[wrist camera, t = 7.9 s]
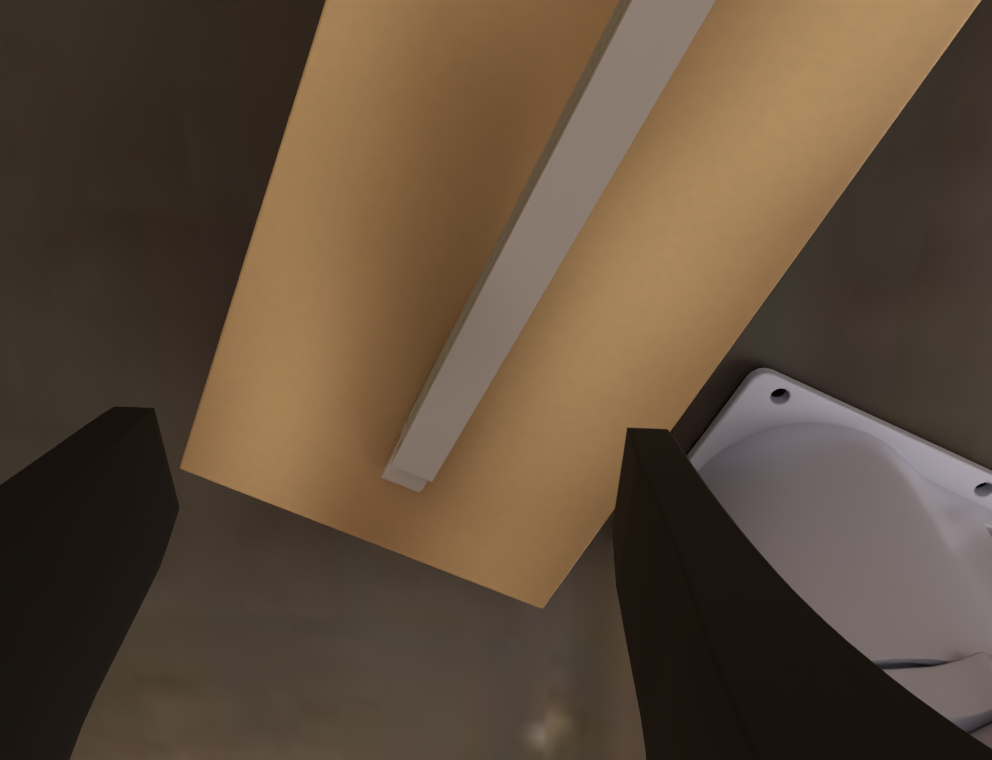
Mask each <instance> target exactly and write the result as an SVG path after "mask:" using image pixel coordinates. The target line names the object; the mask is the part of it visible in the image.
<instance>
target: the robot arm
mask: <svg viewBox="0 0 992 760" xmlns="http://www.w3.org/2000/svg"><path fill="white" fill-rule="evenodd" d="M780 388H781V389H786V391H785V393H784V394H783V395H781V396H778V397H774V396H771V393H772V392H773V391H774V390H776V389H780ZM985 482H987V483H986V485H984V486H982V487H980V488H976V486H978V485H979V484H981V483H985ZM178 511H179V504H178V500H177V496H176V492H175V488H174V484H173V480H172V476H171V473H170V469H169V465H168V461H167V457H166V453H165V449H164V445H163V441H162V437H161V433H160V429H159V425H158V422H157V418H156V414H155V410H154V408H138V407H113V408H111V409H110V410H108V411H107V412H105V413H103V414H102V415H100V416H99V417H97V418H96V419H94V420H93V421H91V422H90V423H88V424H87V425H85V426H84V427H83V428H81V429H80V430H78V431H77V432H75V433H74V434H73V435H71V436H70V437H68V438H67V439H66V440H64V441H63V442H61V443H60V444H59V445H57V446H56V447H54V448H53V449H51V450H50V451H49V452H47V453H46V454H44V455H43V456H42V457H40V458H39V459H37V460H36V461H34V462H33V463H32V464H30V465H29V466H27V467H26V468H24V469H23V470H21V471H20V472H19V473H17V474H16V475H14V476H13V477H11V478H10V479H9V480H7V481H6V482H4V483H3V484H1V485H0V760H69V759H70V757H71V754H72V751H73V749H74V746H75V743H76V741H77V738H78V735H79V733H80V730H81V728H82V725H83V723H84V720H85V718H86V716H87V714H88V711H89V709H90V707H91V705H92V703H93V700H94V698H95V696H96V694H97V692H98V690H99V688H100V686H101V684H102V682H103V680H104V678H105V676H106V674H107V672H108V670H109V668H110V666H111V664H112V662H113V660H114V658H115V656H116V654H117V652H118V650H119V648H120V646H121V644H122V642H123V640H124V638H125V636H126V634H127V632H128V630H129V628H130V626H131V624H132V622H133V620H134V618H135V616H136V614H137V612H138V610H139V608H140V606H141V604H142V602H143V600H144V598H145V596H146V594H147V592H148V590H149V588H150V586H151V584H152V582H153V580H154V578H155V576H156V574H157V572H158V569H159V567H160V565H161V562H162V559H163V556H164V554H165V551H166V548H167V545H168V542H169V539H170V536H171V533H172V530H173V527H174V524H175V521H176V517H177V514H178ZM612 528H613V545H614V562H615V576H616V587H617V593H618V598H619V604H620V609H621V615H622V620H623V626H624V631H625V636H626V642H627V647H628V652H629V657H630V663H631V668H632V673H633V679H634V684H635V689H636V694H637V700H638V705H639V710H640V716H641V722H642V729H643V735H644V742H645V750H646V760H992V470H989V469H987V468H985V467H983V466H981V465H979V464H976V463H974V462H972V461H970V460H968V459H966V458H963V457H961V456H959V455H957V454H955V453H953V452H950V451H948V450H946V449H944V448H942V447H940V446H937V445H935V444H933V443H931V442H929V441H927V440H924V439H922V438H920V437H918V436H916V435H914V434H911V433H909V432H907V431H905V430H903V429H901V428H898V427H896V426H894V425H892V424H890V423H888V422H885V421H883V420H881V419H879V418H877V417H875V416H872V415H870V414H868V413H866V412H864V411H862V410H859V409H857V408H855V407H853V406H851V405H849V404H846V403H844V402H842V401H840V400H838V399H836V398H833V397H831V396H829V395H827V394H825V393H823V392H820V391H818V390H816V389H814V388H812V387H810V386H807V385H805V384H803V383H801V382H799V381H797V380H794V379H792V378H790V377H788V376H786V375H784V374H781V373H779V372H777V371H775V370H773V369H769V368H758V369H756V370H754V371H752V372H751V373H749V374H748V375H747V376H746V378H745V379H744V380H743V382H742V383H741V384H740V386H739V387H738V388H737V390H736V391H735V392H734V394H733V395H732V396H731V398H730V399H729V400H728V402H727V403H726V404H725V406H724V407H723V408H722V410H721V411H720V412H719V414H718V415H717V416H716V418H715V419H714V420H713V422H712V423H711V424H710V426H709V427H708V428H707V430H706V431H705V432H704V434H703V435H702V436H701V438H700V439H699V440H698V442H697V443H696V444H695V446H694V447H693V448H692V450H691V451H690V452H689V454H688V455H687V456H686V454H685V453H684V451H683V450H682V448H681V447H680V445H679V444H678V442H677V440H676V439H675V437H674V436H673V435H672V434H671V432H670V431H669V430H668V429H652V428H627V432H626V439H625V445H624V452H623V459H622V465H621V472H620V478H619V485H618V492H617V498H616V505H615V512H614V518H613V525H612Z"/></svg>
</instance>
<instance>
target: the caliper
mask: <svg viewBox="0 0 992 760" xmlns="http://www.w3.org/2000/svg"><path fill="white" fill-rule="evenodd" d="M715 1H716V0H619V2H618V4H617V6H616V8H615V10H614V12H613V14H612V16H611V18H610V20H609V22H608V24H607V26H606V28H605V30H604V32H603V34H602V36H601V38H600V39H599V41H598V43H597V45H596V47H595V49H594V51H593V53H592V55H591V57H590V59H589V61H588V63H587V65H586V67H585V69H584V71H583V73H582V75H581V77H580V79H579V81H578V83H577V85H576V87H575V89H574V91H573V93H572V95H571V97H570V99H569V101H568V103H567V104H566V106H565V108H564V110H563V112H562V114H561V116H560V118H559V120H558V122H557V124H556V126H555V128H554V130H553V132H552V134H551V136H550V138H549V140H548V142H547V144H546V146H545V148H544V150H543V152H542V154H541V156H540V158H539V160H538V162H537V164H536V166H535V168H534V169H533V171H532V173H531V175H530V177H529V179H528V181H527V183H526V185H525V187H524V189H523V191H522V193H521V195H520V197H519V199H518V201H517V203H516V205H515V207H514V209H513V211H512V213H511V215H510V217H509V219H508V221H507V223H506V225H505V226H504V228H503V230H502V232H501V234H500V236H499V238H498V240H497V242H496V244H495V246H494V248H493V250H492V252H491V254H490V256H489V258H488V260H487V262H486V264H485V266H484V268H483V270H482V272H481V274H480V276H479V278H478V280H477V281H476V283H475V285H474V287H473V289H472V291H471V293H470V295H469V297H468V299H467V301H466V303H465V305H464V307H463V309H462V311H461V313H460V315H459V317H458V319H457V321H456V323H455V325H454V327H453V329H452V331H451V333H450V334H449V336H448V338H447V340H446V342H445V344H444V346H443V348H442V350H441V352H440V354H439V356H438V358H437V360H436V362H435V364H434V366H433V368H432V370H431V372H430V374H429V376H428V378H427V380H426V382H425V384H424V386H423V388H422V389H421V391H420V393H419V395H418V397H417V399H416V401H415V403H414V405H413V407H412V409H411V411H410V413H409V415H408V417H407V419H406V421H405V424H404V427H403V430H402V433H401V436H400V438H399V440H398V442H397V444H396V446H395V448H394V450H393V452H392V454H391V456H390V458H389V460H388V462H387V464H386V466H385V468H384V470H383V472H382V475H381V478H383V479H386V480H388V481H391V482H393V483H396V484H398V485H401V486H404V487H406V488H409V489H411V490H414V491H416V492H420V491H422V490H423V488H424V486H425V485H426V483H427V481H428V480H429V481H431V482H432V481H433V479H434V478H435V476H436V474H437V473H438V471H439V469H440V468H441V466H442V464H443V463H444V461H445V459H446V457H447V456H448V454H449V452H450V451H451V449H452V447H453V446H454V444H455V442H456V441H457V439H458V437H459V435H460V434H461V432H462V430H463V429H464V427H465V425H466V424H467V422H468V420H469V419H470V417H471V415H472V413H473V412H474V410H475V408H476V407H477V405H478V403H479V402H480V400H481V398H482V396H483V395H484V393H485V391H486V390H487V388H488V386H489V385H490V383H491V381H492V380H493V378H494V376H495V374H496V373H497V371H498V369H499V368H500V366H501V364H502V363H503V361H504V359H505V358H506V356H507V354H508V352H509V351H510V349H511V347H512V346H513V344H514V342H515V341H516V339H517V337H518V335H519V334H520V332H521V330H522V329H523V327H524V325H525V324H526V322H527V320H528V318H529V317H530V315H531V313H532V312H533V310H534V308H535V307H536V305H537V303H538V301H539V300H540V298H541V296H542V295H543V293H544V291H545V290H546V288H547V286H548V284H549V283H550V281H551V279H552V278H553V276H554V274H555V273H556V271H557V269H558V267H559V266H560V264H561V262H562V261H563V259H564V257H565V256H566V254H567V252H568V250H569V249H570V247H571V245H572V244H573V242H574V240H575V239H576V237H577V235H578V233H579V232H580V230H581V228H582V227H583V225H584V223H585V222H586V220H587V218H588V216H589V215H590V213H591V211H592V210H593V208H594V206H595V205H596V203H597V201H598V199H599V198H600V196H601V194H602V193H603V191H604V189H605V188H606V186H607V184H608V182H609V181H610V179H611V177H612V176H613V174H614V172H615V171H616V169H617V167H618V165H619V164H620V162H621V160H622V159H623V157H624V155H625V154H626V152H627V150H628V148H629V147H630V145H631V143H632V142H633V140H634V138H635V137H636V135H637V133H638V131H639V130H640V128H641V126H642V125H643V123H644V121H645V120H646V118H647V116H648V115H649V113H650V111H651V109H652V108H653V106H654V104H655V103H656V101H657V99H658V98H659V96H660V94H661V92H662V91H663V89H664V87H665V86H666V84H667V82H668V81H669V79H670V77H671V75H672V74H673V72H674V70H675V69H676V67H677V65H678V64H679V62H680V60H681V58H682V57H683V55H684V53H685V52H686V50H687V48H688V47H689V45H690V43H691V41H692V40H693V38H694V36H695V35H696V33H697V31H698V30H699V28H700V26H701V24H702V23H703V21H704V19H705V18H706V16H707V14H708V13H709V11H710V9H711V7H712V6H713V4H714V2H715Z"/></svg>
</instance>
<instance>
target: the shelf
mask: <svg viewBox="0 0 992 760" xmlns="http://www.w3.org/2000/svg"><path fill="white" fill-rule="evenodd" d="M980 1H981V0H716V1H715V2H714V4H713V6H712V7H711V9H710V11H709V13H708V14H707V16H706V18H705V19H704V21H703V23H702V24H701V26H700V28H699V30H698V31H697V33H696V35H695V36H694V38H693V40H692V41H691V43H690V45H689V47H688V48H687V50H686V52H685V53H684V55H683V57H682V58H681V60H680V62H679V64H678V65H677V67H676V69H675V70H674V72H673V74H672V75H671V77H670V79H669V81H668V82H667V84H666V86H665V87H664V89H663V91H662V92H661V94H660V96H659V98H658V99H657V101H656V103H655V104H654V106H653V108H652V109H651V111H650V113H649V115H648V116H647V118H646V120H645V121H644V123H643V125H642V126H641V128H640V130H639V131H638V133H637V135H636V137H635V138H634V140H633V142H632V143H631V145H630V147H629V148H628V150H627V152H626V154H625V155H624V157H623V159H622V160H621V162H620V164H619V165H618V167H617V169H616V171H615V172H614V174H613V176H612V177H611V179H610V181H609V182H608V184H607V186H606V188H605V189H604V191H603V193H602V194H601V196H600V198H599V199H598V201H597V203H596V205H595V206H594V208H593V210H592V211H591V213H590V215H589V216H588V218H587V220H586V222H585V223H584V225H583V227H582V228H581V230H580V232H579V233H578V235H577V237H576V239H575V240H574V242H573V244H572V245H571V247H570V249H569V250H568V252H567V254H566V256H565V257H564V259H563V261H562V262H561V264H560V266H559V267H558V269H557V271H556V273H555V274H554V276H553V278H552V279H551V281H550V283H549V284H548V286H547V288H546V290H545V291H544V293H543V295H542V296H541V298H540V300H539V301H538V303H537V305H536V307H535V308H534V310H533V312H532V313H531V315H530V317H529V318H528V320H527V322H526V324H525V325H524V327H523V329H522V330H521V332H520V334H519V335H518V337H517V339H516V341H515V342H514V344H513V346H512V347H511V349H510V351H509V352H508V354H507V356H506V358H505V359H504V361H503V363H502V364H501V366H500V368H499V369H498V371H497V373H496V374H495V376H494V378H493V380H492V381H491V383H490V385H489V386H488V388H487V390H486V391H485V393H484V395H483V396H482V398H481V400H480V402H479V403H478V405H477V407H476V408H475V410H474V412H473V413H472V415H471V417H470V419H469V420H468V422H467V424H466V425H465V427H464V429H463V430H462V432H461V434H460V435H459V437H458V439H457V441H456V442H455V444H454V446H453V447H452V449H451V451H450V452H449V454H448V456H447V457H446V459H445V461H444V463H443V464H442V466H441V468H440V469H439V471H438V473H437V474H436V476H435V478H434V479H433V481H432V482H431V481H429V480H428V481H427V483H426V485H425V486H424V488H423V490H422V491H420V492H416V491H414V490H411V489H409V488H406V487H404V486H401V485H398V484H396V483H393V482H391V481H388V480H386V479H383V478H381V475H382V472H383V470H384V468H385V466H386V464H387V462H388V460H389V458H390V456H391V454H392V452H393V450H394V448H395V446H396V444H397V442H398V440H399V438H400V436H401V433H402V430H403V427H404V424H405V421H406V419H407V417H408V415H409V413H410V411H411V409H412V407H413V405H414V403H415V401H416V399H417V397H418V395H419V393H420V391H421V389H422V388H423V386H424V384H425V382H426V380H427V378H428V376H429V374H430V372H431V370H432V368H433V366H434V364H435V362H436V360H437V358H438V356H439V354H440V352H441V350H442V348H443V346H444V344H445V342H446V340H447V338H448V336H449V334H450V333H451V331H452V329H453V327H454V325H455V323H456V321H457V319H458V317H459V315H460V313H461V311H462V309H463V307H464V305H465V303H466V301H467V299H468V297H469V295H470V293H471V291H472V289H473V287H474V285H475V283H476V281H477V280H478V278H479V276H480V274H481V272H482V270H483V268H484V266H485V264H486V262H487V260H488V258H489V256H490V254H491V252H492V250H493V248H494V246H495V244H496V242H497V240H498V238H499V236H500V234H501V232H502V230H503V228H504V226H505V225H506V223H507V221H508V219H509V217H510V215H511V213H512V211H513V209H514V207H515V205H516V203H517V201H518V199H519V197H520V195H521V193H522V191H523V189H524V187H525V185H526V183H527V181H528V179H529V177H530V175H531V173H532V171H533V169H534V168H535V166H536V164H537V162H538V160H539V158H540V156H541V154H542V152H543V150H544V148H545V146H546V144H547V142H548V140H549V138H550V136H551V134H552V132H553V130H554V128H555V126H556V124H557V122H558V120H559V118H560V116H561V114H562V112H563V110H564V108H565V106H566V104H567V103H568V101H569V99H570V97H571V95H572V93H573V91H574V89H575V87H576V85H577V83H578V81H579V79H580V77H581V75H582V73H583V71H584V69H585V67H586V65H587V63H588V61H589V59H590V57H591V55H592V53H593V51H594V49H595V47H596V45H597V43H598V41H599V39H600V38H601V36H602V34H603V32H604V30H605V28H606V26H607V24H608V22H609V20H610V18H611V16H612V14H613V12H614V10H615V8H616V6H617V4H618V2H619V0H326V1H325V4H324V7H323V10H322V13H321V17H320V20H319V23H318V26H317V29H316V33H315V36H314V39H313V42H312V45H311V49H310V52H309V55H308V58H307V61H306V65H305V68H304V71H303V74H302V77H301V80H300V84H299V87H298V90H297V93H296V96H295V100H294V103H293V106H292V109H291V112H290V116H289V119H288V122H287V125H286V128H285V132H284V135H283V138H282V141H281V144H280V148H279V151H278V154H277V157H276V160H275V164H274V167H273V170H272V173H271V176H270V180H269V183H268V186H267V189H266V192H265V196H264V199H263V202H262V205H261V208H260V212H259V215H258V218H257V221H256V224H255V227H254V231H253V234H252V237H251V240H250V243H249V247H248V250H247V253H246V256H245V259H244V263H243V266H242V269H241V272H240V275H239V279H238V282H237V285H236V288H235V291H234V295H233V298H232V301H231V304H230V307H229V311H228V314H227V317H226V320H225V323H224V327H223V330H222V333H221V336H220V339H219V343H218V346H217V349H216V352H215V355H214V359H213V362H212V365H211V368H210V371H209V374H208V378H207V381H206V384H205V387H204V390H203V394H202V397H201V400H200V403H199V406H198V410H197V413H196V416H195V419H194V422H193V426H192V429H191V432H190V435H189V438H188V442H187V445H186V448H185V451H184V454H183V458H182V461H181V464H180V468H181V469H182V470H185V471H187V472H190V473H192V474H195V475H197V476H200V477H203V478H205V479H208V480H210V481H213V482H216V483H218V484H221V485H223V486H226V487H228V488H231V489H234V490H236V491H239V492H241V493H244V494H247V495H249V496H252V497H254V498H257V499H259V500H262V501H265V502H267V503H270V504H272V505H275V506H278V507H280V508H283V509H285V510H288V511H290V512H293V513H296V514H298V515H301V516H303V517H306V518H309V519H311V520H314V521H316V522H319V523H321V524H324V525H327V526H329V527H332V528H334V529H337V530H340V531H342V532H345V533H347V534H350V535H352V536H355V537H358V538H360V539H363V540H365V541H368V542H371V543H373V544H376V545H378V546H381V547H383V548H386V549H389V550H391V551H394V552H396V553H399V554H402V555H404V556H407V557H409V558H412V559H414V560H417V561H420V562H422V563H425V564H427V565H430V566H433V567H435V568H438V569H440V570H443V571H445V572H448V573H451V574H453V575H456V576H458V577H461V578H463V579H466V580H469V581H471V582H474V583H476V584H479V585H482V586H484V587H487V588H489V589H492V590H494V591H497V592H500V593H502V594H505V595H507V596H510V597H513V598H515V599H518V600H520V601H523V602H525V603H528V604H531V605H533V606H536V607H538V608H543V607H544V606H545V605H546V603H547V602H548V601H549V599H550V598H551V596H552V595H553V594H554V592H555V591H556V589H557V588H558V587H559V585H560V584H561V582H562V581H563V580H564V578H565V577H566V576H567V574H568V573H569V571H570V570H571V569H572V567H573V566H574V564H575V563H576V562H577V560H578V559H579V558H580V556H581V555H582V553H583V552H584V551H585V549H586V548H587V546H588V545H589V544H590V542H591V541H592V540H593V538H594V537H595V535H596V534H597V533H598V531H599V530H600V528H601V527H602V526H603V524H604V523H605V521H606V520H607V519H608V517H609V516H610V515H611V513H612V512H613V510H614V509H615V505H616V498H617V492H618V485H619V478H620V472H621V465H622V459H623V452H624V445H625V439H626V432H627V428H652V429H668V430H669V431H671V430H672V429H673V427H674V426H675V424H676V423H677V422H678V420H679V419H680V417H681V416H682V415H683V413H684V412H685V411H686V409H687V408H688V406H689V405H690V404H691V402H692V401H693V399H694V398H695V397H696V395H697V394H698V392H699V391H700V390H701V388H702V387H703V386H704V384H705V383H706V381H707V380H708V379H709V377H710V376H711V374H712V373H713V372H714V370H715V369H716V368H717V366H718V365H719V363H720V362H721V361H722V359H723V358H724V356H725V355H726V354H727V352H728V351H729V350H730V348H731V347H732V345H733V344H734V343H735V341H736V340H737V338H738V337H739V336H740V334H741V333H742V331H743V330H744V329H745V327H746V326H747V325H748V323H749V322H750V320H751V319H752V318H753V316H754V315H755V313H756V312H757V311H758V309H759V308H760V307H761V305H762V304H763V302H764V301H765V300H766V298H767V297H768V295H769V294H770V293H771V291H772V290H773V288H774V287H775V286H776V284H777V283H778V282H779V280H780V279H781V277H782V276H783V275H784V273H785V272H786V270H787V269H788V268H789V266H790V265H791V264H792V262H793V261H794V259H795V258H796V257H797V255H798V254H799V252H800V251H801V250H802V248H803V247H804V245H805V244H806V243H807V241H808V240H809V239H810V237H811V236H812V234H813V233H814V232H815V230H816V229H817V227H818V226H819V225H820V223H821V222H822V221H823V219H824V218H825V216H826V215H827V214H828V212H829V211H830V209H831V208H832V207H833V205H834V204H835V202H836V201H837V200H838V198H839V197H840V196H841V194H842V193H843V191H844V190H845V189H846V187H847V186H848V184H849V183H850V182H851V180H852V179H853V178H854V176H855V175H856V173H857V172H858V171H859V169H860V168H861V166H862V165H863V164H864V162H865V161H866V159H867V158H868V157H869V155H870V154H871V153H872V151H873V150H874V148H875V147H876V146H877V144H878V143H879V141H880V140H881V139H882V137H883V136H884V135H885V133H886V132H887V130H888V129H889V128H890V126H891V125H892V123H893V122H894V121H895V119H896V118H897V117H898V115H899V114H900V112H901V111H902V110H903V108H904V107H905V105H906V104H907V103H908V101H909V100H910V98H911V97H912V96H913V94H914V93H915V92H916V90H917V89H918V87H919V86H920V85H921V83H922V82H923V80H924V79H925V78H926V76H927V75H928V74H929V72H930V71H931V69H932V68H933V67H934V65H935V64H936V62H937V61H938V60H939V58H940V57H941V55H942V54H943V53H944V51H945V50H946V49H947V47H948V46H949V44H950V43H951V42H952V40H953V39H954V37H955V36H956V35H957V33H958V32H959V31H960V29H961V28H962V26H963V25H964V24H965V22H966V21H967V19H968V18H969V17H970V15H971V14H972V12H973V11H974V10H975V8H976V7H977V6H978V4H979V3H980Z"/></svg>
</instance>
